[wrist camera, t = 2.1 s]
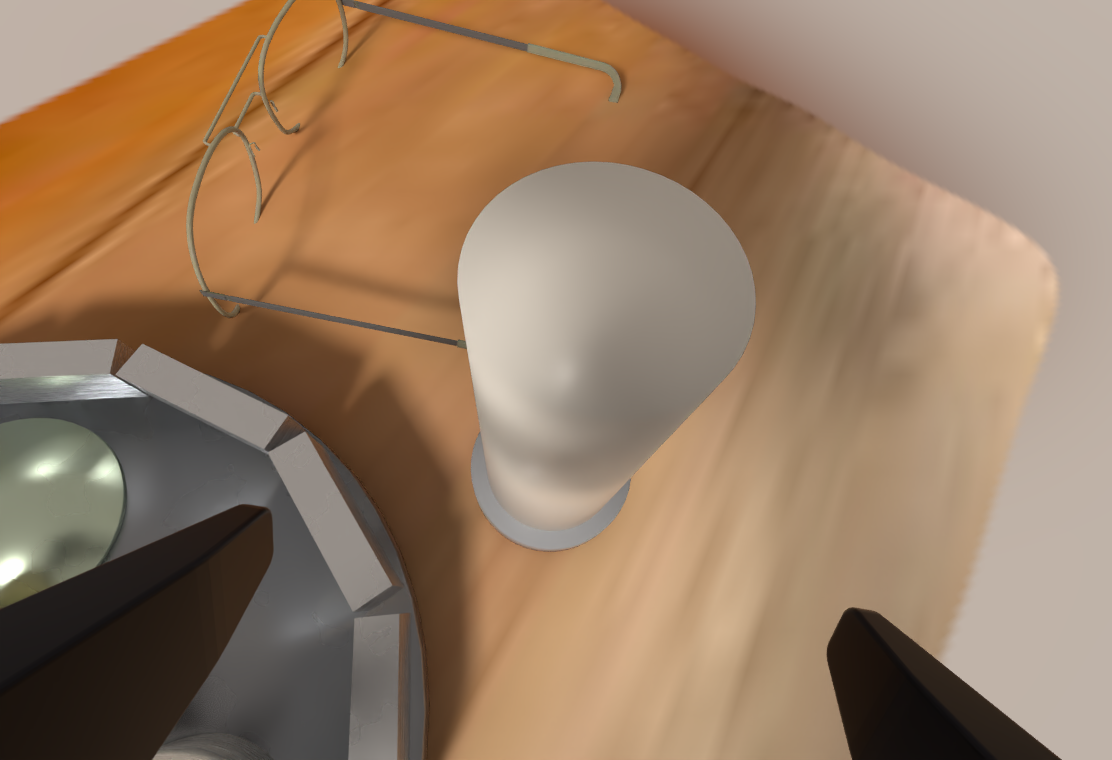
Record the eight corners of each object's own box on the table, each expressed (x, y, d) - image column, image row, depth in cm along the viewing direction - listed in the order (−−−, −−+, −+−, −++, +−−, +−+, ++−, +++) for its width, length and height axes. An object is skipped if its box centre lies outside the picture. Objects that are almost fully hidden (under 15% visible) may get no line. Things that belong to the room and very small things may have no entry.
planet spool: (654, 492, 20) (867, 327, 8) (529, 585, 19) (566, 548, 7) (566, 375, 22) (637, 92, 10) (443, 452, 20) (349, 227, 8)
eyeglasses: (328, 57, 28) (293, -51, 23) (617, 107, 28) (638, 9, 24) (208, 333, 22) (128, 259, 17) (580, 392, 22) (599, 335, 17)
